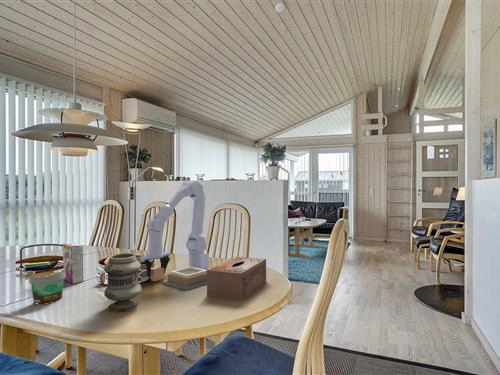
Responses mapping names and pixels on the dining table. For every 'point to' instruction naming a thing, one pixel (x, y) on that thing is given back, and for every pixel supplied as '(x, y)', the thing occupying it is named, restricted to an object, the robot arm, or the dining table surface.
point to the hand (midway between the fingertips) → (155, 275)
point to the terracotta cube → (157, 273)
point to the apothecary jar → (122, 281)
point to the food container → (47, 287)
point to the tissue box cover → (236, 277)
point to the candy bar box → (73, 262)
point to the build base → (187, 278)
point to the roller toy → (102, 277)
